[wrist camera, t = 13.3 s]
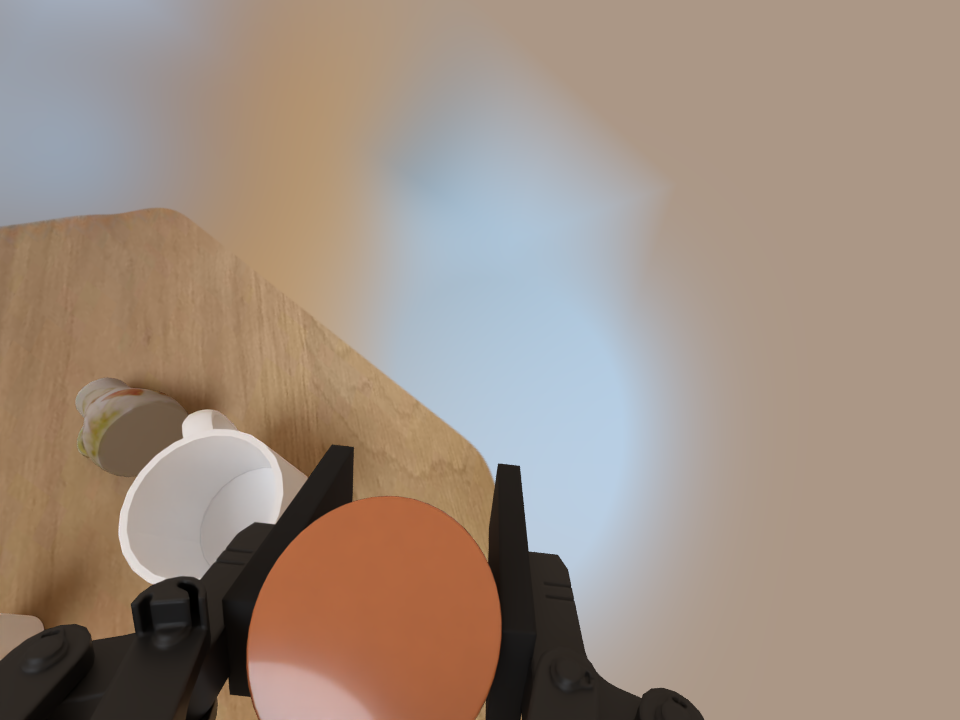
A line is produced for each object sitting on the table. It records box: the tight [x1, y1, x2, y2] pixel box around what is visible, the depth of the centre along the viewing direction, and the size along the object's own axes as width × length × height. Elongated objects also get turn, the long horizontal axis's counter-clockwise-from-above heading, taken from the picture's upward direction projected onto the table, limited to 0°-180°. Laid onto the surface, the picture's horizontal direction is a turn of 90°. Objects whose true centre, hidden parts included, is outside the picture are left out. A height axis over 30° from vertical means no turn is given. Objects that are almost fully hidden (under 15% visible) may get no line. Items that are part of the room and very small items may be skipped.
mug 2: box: [118, 409, 308, 584], centre depth 34 cm, size 13×10×10 cm
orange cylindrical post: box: [246, 496, 502, 720], centre depth 15 cm, size 5×5×14 cm
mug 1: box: [76, 378, 188, 477], centre depth 38 cm, size 8×10×10 cm
